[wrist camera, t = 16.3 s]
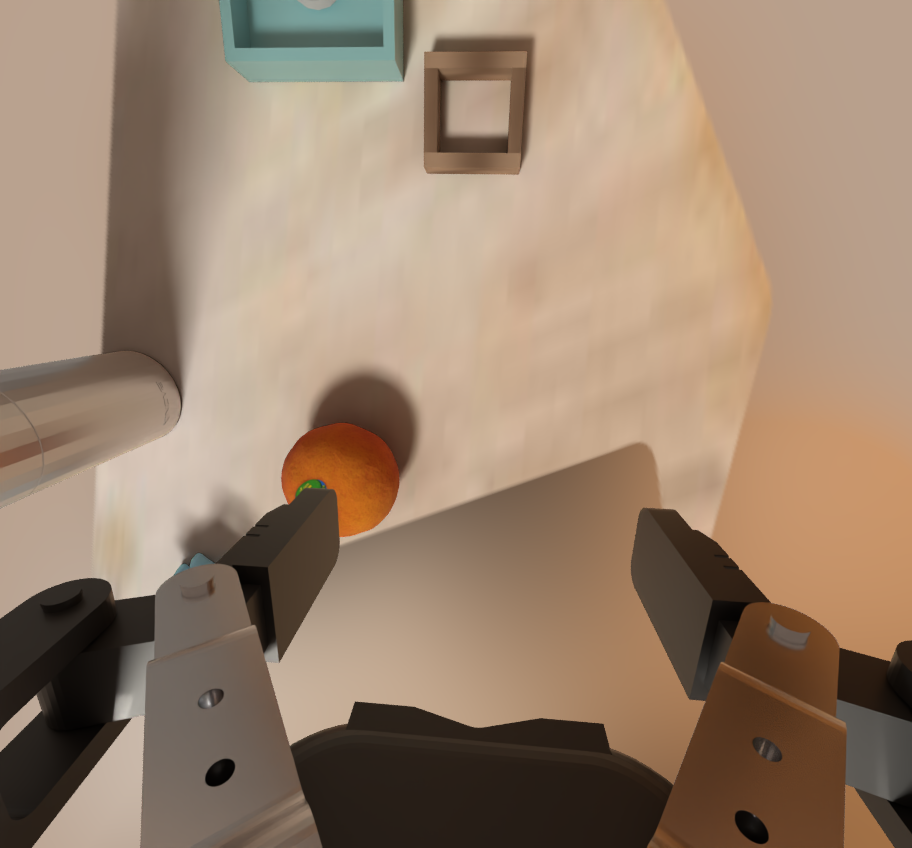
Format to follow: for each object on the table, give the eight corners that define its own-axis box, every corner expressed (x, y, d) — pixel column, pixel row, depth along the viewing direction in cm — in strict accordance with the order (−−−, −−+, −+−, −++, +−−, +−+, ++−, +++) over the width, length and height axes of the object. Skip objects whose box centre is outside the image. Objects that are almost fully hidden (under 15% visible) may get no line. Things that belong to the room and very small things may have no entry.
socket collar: (427, 173, 36) (423, 166, 34) (428, 65, 34) (424, 51, 32) (518, 174, 36) (520, 167, 34) (525, 64, 34) (527, 51, 32)
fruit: (423, 443, 43) (409, 476, 36) (382, 525, 46) (360, 571, 39) (325, 395, 43) (289, 417, 35) (289, 481, 46) (249, 519, 38)
